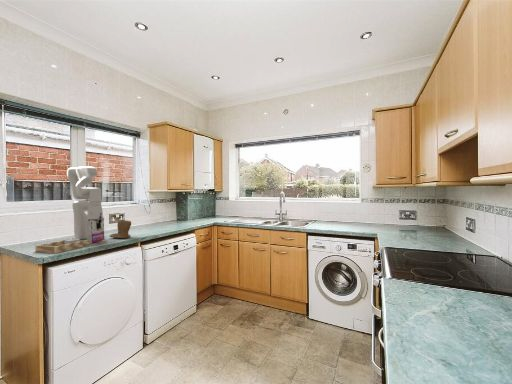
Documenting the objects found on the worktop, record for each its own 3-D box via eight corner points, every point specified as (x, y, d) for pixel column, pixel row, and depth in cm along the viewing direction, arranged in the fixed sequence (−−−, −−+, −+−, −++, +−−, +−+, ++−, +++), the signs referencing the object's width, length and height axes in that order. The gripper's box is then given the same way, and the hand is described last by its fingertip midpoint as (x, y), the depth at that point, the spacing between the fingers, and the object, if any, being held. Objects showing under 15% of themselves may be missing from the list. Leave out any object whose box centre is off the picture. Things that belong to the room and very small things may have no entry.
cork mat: (100, 241, 190) (100, 240, 190) (107, 241, 188) (107, 240, 188) (83, 244, 176) (83, 244, 176) (91, 245, 175) (91, 244, 175)
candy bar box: (99, 239, 189) (98, 218, 188) (104, 240, 188) (104, 218, 187) (86, 242, 178) (86, 220, 177) (92, 243, 177) (91, 220, 176)
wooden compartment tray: (69, 244, 178) (68, 239, 178) (87, 245, 174) (87, 239, 174) (35, 251, 157) (35, 245, 157) (55, 253, 153) (55, 246, 153)
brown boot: (134, 236, 206) (134, 219, 206) (122, 239, 195) (122, 221, 195) (121, 236, 211) (121, 218, 211) (108, 238, 200) (108, 220, 200)
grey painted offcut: (64, 244, 170) (64, 240, 170) (78, 242, 176) (77, 238, 176) (66, 245, 168) (66, 241, 168) (79, 242, 174) (79, 239, 174)
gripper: (81, 204, 181) (81, 228, 181) (100, 204, 177) (100, 229, 177) (90, 203, 188) (90, 227, 188) (108, 204, 184) (109, 227, 184)
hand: (95, 228), depth 183 cm, fingers closed on candy bar box, 5 cm apart
